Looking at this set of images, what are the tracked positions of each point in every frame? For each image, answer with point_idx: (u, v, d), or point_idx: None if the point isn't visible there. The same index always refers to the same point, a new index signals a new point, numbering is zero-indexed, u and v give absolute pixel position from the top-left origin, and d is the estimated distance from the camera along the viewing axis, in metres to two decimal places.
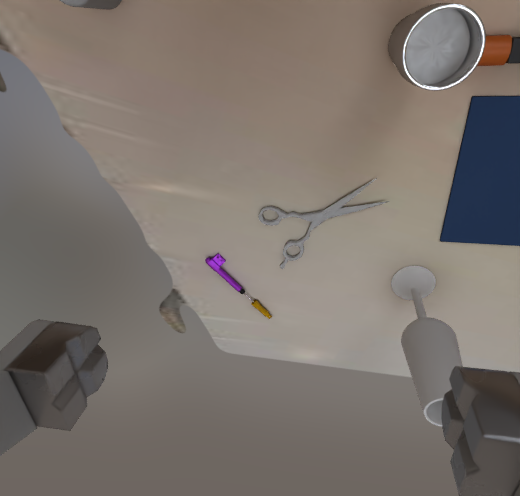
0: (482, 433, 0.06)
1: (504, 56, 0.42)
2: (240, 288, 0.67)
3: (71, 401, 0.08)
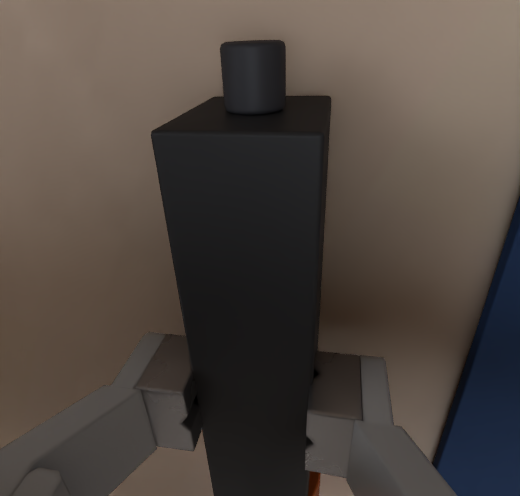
0: (307, 409, 0.07)
1: None
2: None
3: (195, 420, 0.08)
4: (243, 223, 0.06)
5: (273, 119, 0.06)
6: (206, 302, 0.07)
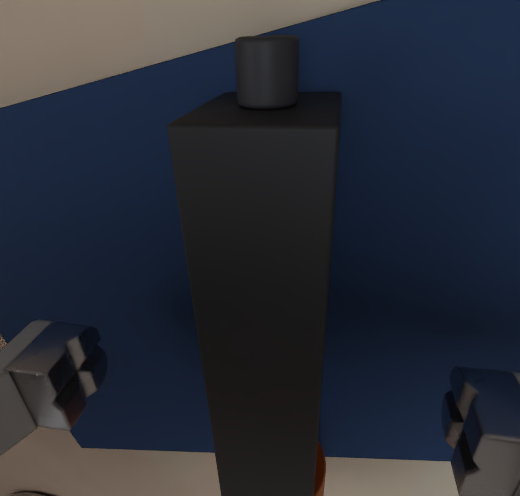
0: (482, 433, 0.06)
1: None
2: None
3: (71, 401, 0.08)
4: (257, 216, 0.06)
5: (287, 113, 0.06)
6: (218, 295, 0.07)
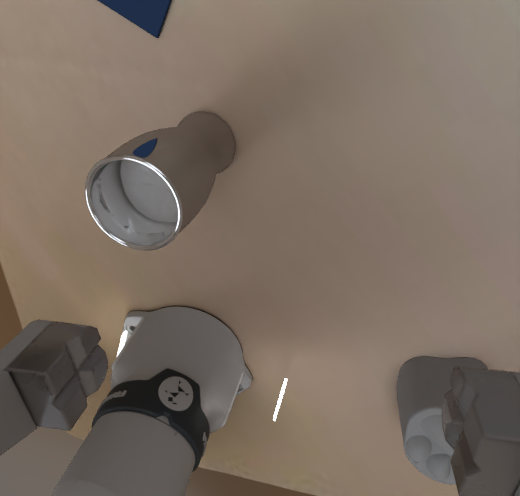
0: (482, 433, 0.06)
1: None
2: None
3: (71, 401, 0.08)
4: None
5: None
6: None
